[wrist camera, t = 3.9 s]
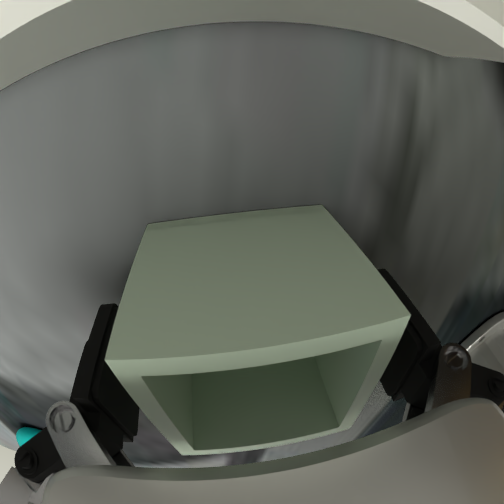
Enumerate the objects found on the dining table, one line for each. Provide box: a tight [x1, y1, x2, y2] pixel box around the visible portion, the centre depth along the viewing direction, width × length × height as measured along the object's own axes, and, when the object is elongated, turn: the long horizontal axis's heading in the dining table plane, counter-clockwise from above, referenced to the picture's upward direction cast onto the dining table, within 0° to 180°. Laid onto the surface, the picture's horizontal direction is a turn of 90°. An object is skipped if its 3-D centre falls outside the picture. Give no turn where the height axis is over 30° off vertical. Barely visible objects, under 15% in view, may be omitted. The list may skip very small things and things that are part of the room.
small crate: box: [105, 205, 411, 455], centre depth 9 cm, size 6×6×6 cm
